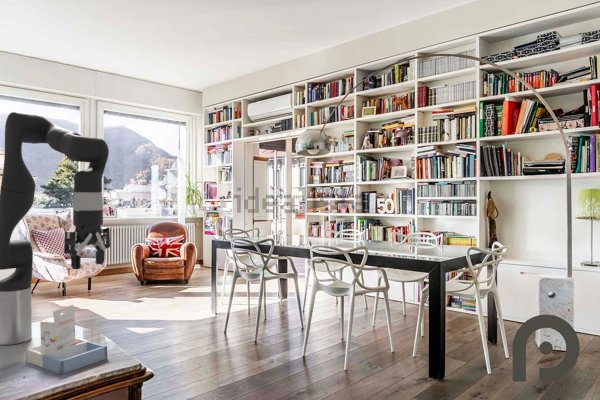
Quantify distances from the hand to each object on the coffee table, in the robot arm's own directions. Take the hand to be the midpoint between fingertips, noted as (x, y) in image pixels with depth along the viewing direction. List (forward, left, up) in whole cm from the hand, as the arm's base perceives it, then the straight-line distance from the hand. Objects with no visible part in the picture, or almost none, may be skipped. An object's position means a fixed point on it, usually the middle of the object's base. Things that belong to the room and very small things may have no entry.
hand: (88, 266), depth 121 cm
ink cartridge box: (-14, -1, -28) cm, 32 cm away
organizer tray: (-10, -1, -28) cm, 30 cm away
